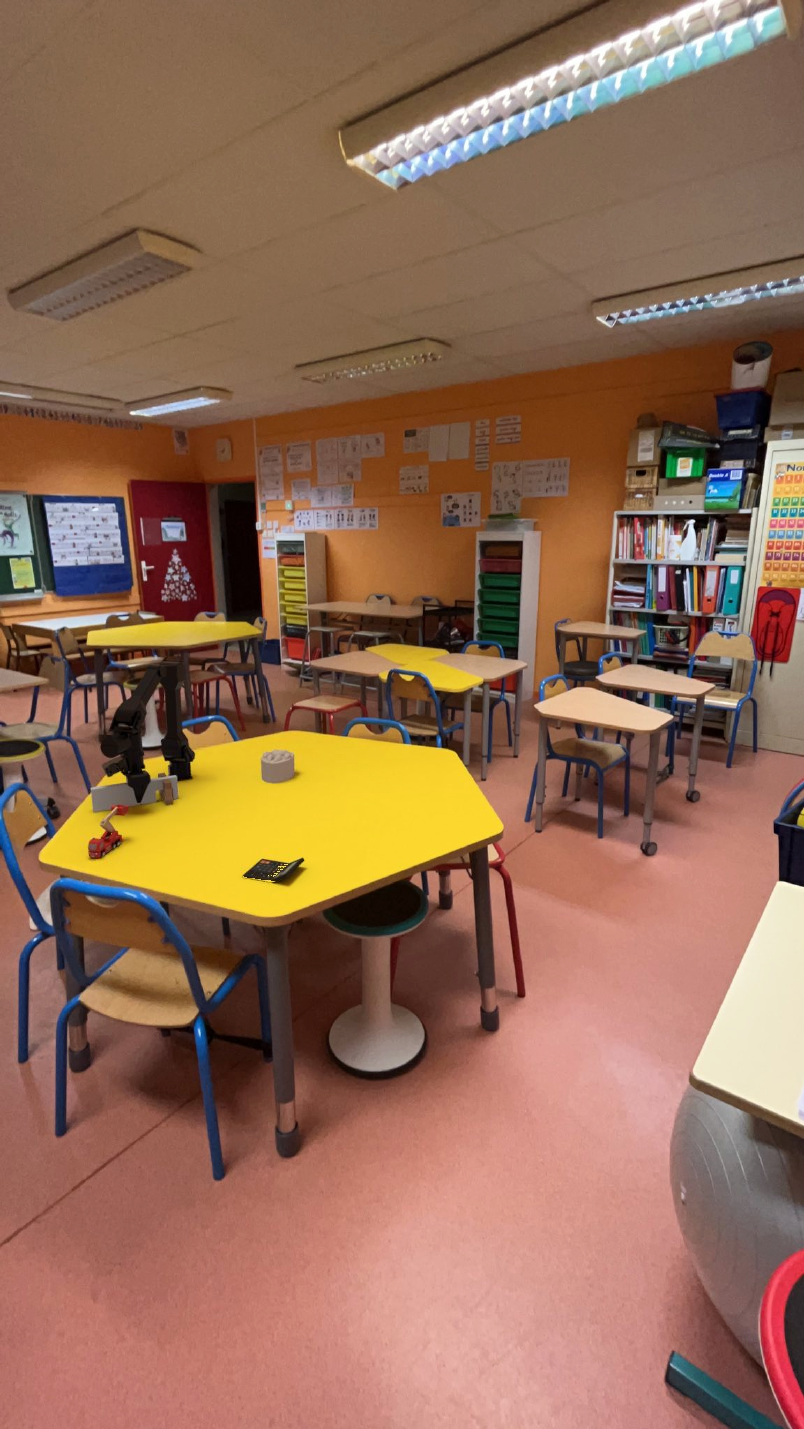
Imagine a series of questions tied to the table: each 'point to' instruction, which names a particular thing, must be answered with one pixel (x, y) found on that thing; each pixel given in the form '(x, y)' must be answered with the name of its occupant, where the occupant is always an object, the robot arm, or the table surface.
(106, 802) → the grey board
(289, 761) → the lumpy-topped squat cylinder
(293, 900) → the table surface
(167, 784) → the walnut stand
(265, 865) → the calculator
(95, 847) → the toy fire truck
